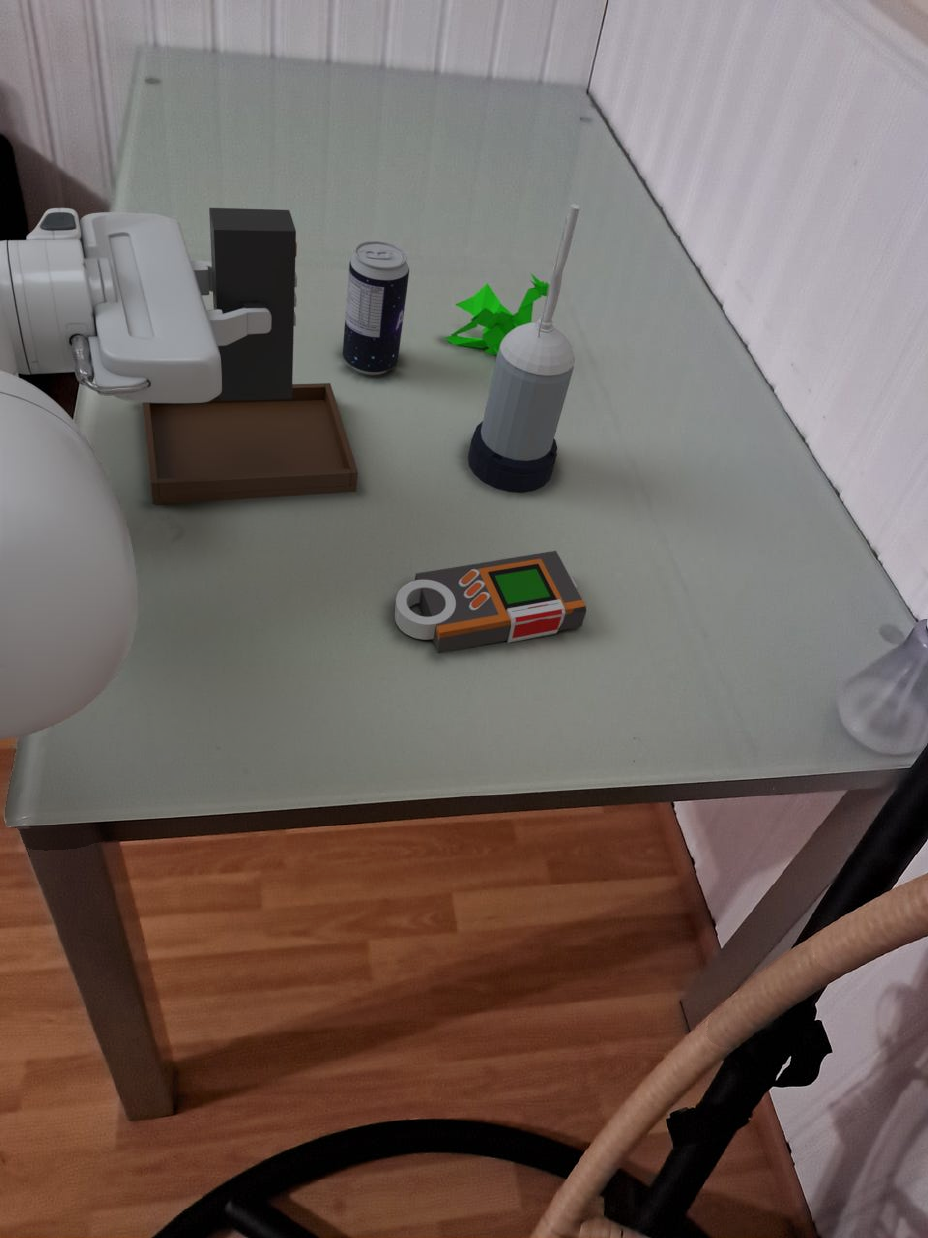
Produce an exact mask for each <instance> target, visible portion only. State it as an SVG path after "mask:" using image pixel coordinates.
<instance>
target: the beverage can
mask: <svg viewBox="0 0 928 1238" xmlns="http://www.w3.org/2000/svg"><path fill="white" fill-rule="evenodd" d="M407 260H408V256H407V254H406V252H405V251H404V250H403V249H402V248H401V247H399V246H398V245H395V244H393V243H390V242H387V241H382V240H368V241H364V242H361V243H359V244H358V245H357V246H355V249H354V253H353V255H352V256H351V258H350V259H349V265H348V278H347V290H346V302H345V303H346V304H345V317H344V329H343V343H342V357H343V359H344V361H345V362H346V363H347V364H348V365H349V366H350V367H351V368H352V369H353V370H354V371H356V372H358V373H360V374H363V375H367V376H379V375H383V374H386V373H387V372H388V371H390V370H391V369H393V368H395V367H396V366H397V365H398V362H399V357H400V350H401V349H400V348H401V339H402V332H403V326H404V325H403V324H404V316H405V309H406V300H407V292H408V286H409V285H408V282H409V277H410V267H409V263H408V262H407Z"/></svg>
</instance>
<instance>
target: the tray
mask: <svg viewBox="0 0 928 1238" xmlns="http://www.w3.org/2000/svg"><path fill="white" fill-rule="evenodd" d="M141 403H142V413H143V421H144V422H143V423H144V431H145V441H146V450H147V451H146V453H147V462H148V472H149V480H150V490H151V492H150V493H151V500H152V505H162V504H164V505H166V504H181V503H182V504H183V503H196V502H197V503H198V502H211V501H228V500H231V501H232V500H245V499H247V500H248V499H261V498H262V499H263V498H281V497H295V496H313V495H329V494H345V493H346V494H347V493H356V492H357V487H358V475H359V471H358V468H357V465H356V462H355V458H354V454H353V453H352V449H351V445H350V441H349V439H348V436H347V433H346V430H345V427H344V423H343V420H342V417H341V413H340V410H339V407H338V403H337V400H336V396H335V394H334V390H333V387H332V384H331V382H322V383H319V382H317V383H292V399H264V400H230V401H221V400H220V395H219V396H217V397H215V398H214V399H212V400H210V401H208V402H204V403H145V402H141Z"/></svg>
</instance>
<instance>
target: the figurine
mask: <svg viewBox="0 0 928 1238" xmlns="http://www.w3.org/2000/svg"><path fill="white" fill-rule="evenodd" d="M530 275H531V277H532V280H533V281H532V280H531V279H530V280H529V281H530V282H531V283H532V285H533V286H534V287H531V288H527V290H526V292H525V295H524V297H523V299H522V301H521V304H520V306H519V307H518V309H517V312H515V313H512V312H511V311H510V310H508V309H507V308H506V307H505V305H503V304H502V303H501V301H500V299H499V298H498V296H497V295H496V294H495V292H494V291H493V289H492V288H491V286H490V284H489V283H488V282H487V283H486V284H485V285H484V286H483V287H482V288H480V289H479V290H478V291H477V292H476V293H475V294H474V295H473V296H471V297H468V298H466V299H464V300H461V301H459V302H458V303H455V306H456V307H459V308H460V309H462V310H463V311H465V312H466V313H468V314H470V315H471V316H473V317H472V318H471V319H470V322H468V323H467V324H466V325H464V326H462V327H460V328H459V329H458V330H456V331H455V332H453V333H451V334H450V335H449V336H446V337H445V336H444V339H445V340H446V341H448V342H449V343H450V344H452V345H454V346H461V347H469V348H477V349H484V350H483V352H484V353H487V354H489V355H491V356H493V355H497V353H498V351H499V348H500V344H501V342H502V340H503V339H504V337H505V336H506V335H507V334H508V333H509V332H510V331H512V330H513V329H515V328H516V327H518V326H521V325H524V324H527V323H530V322H532V317H533V310H534V309H533V308H534V302H535V301H537V300H539V299H540V298H542V297H547V292H548V288H549V284H550V283H549V282H547V281H544V280H540V279H539V278H538V277H536V275H534V274H533V273H530ZM478 325H479V326H481V327H484V328H482V334H481V335H482V337H473V336H472V337H471V336H465V337H464V336H460V335H459V334H462V333H465V332H468V331H470V330H473V329H476V328H478ZM487 347H488V348H487Z"/></svg>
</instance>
